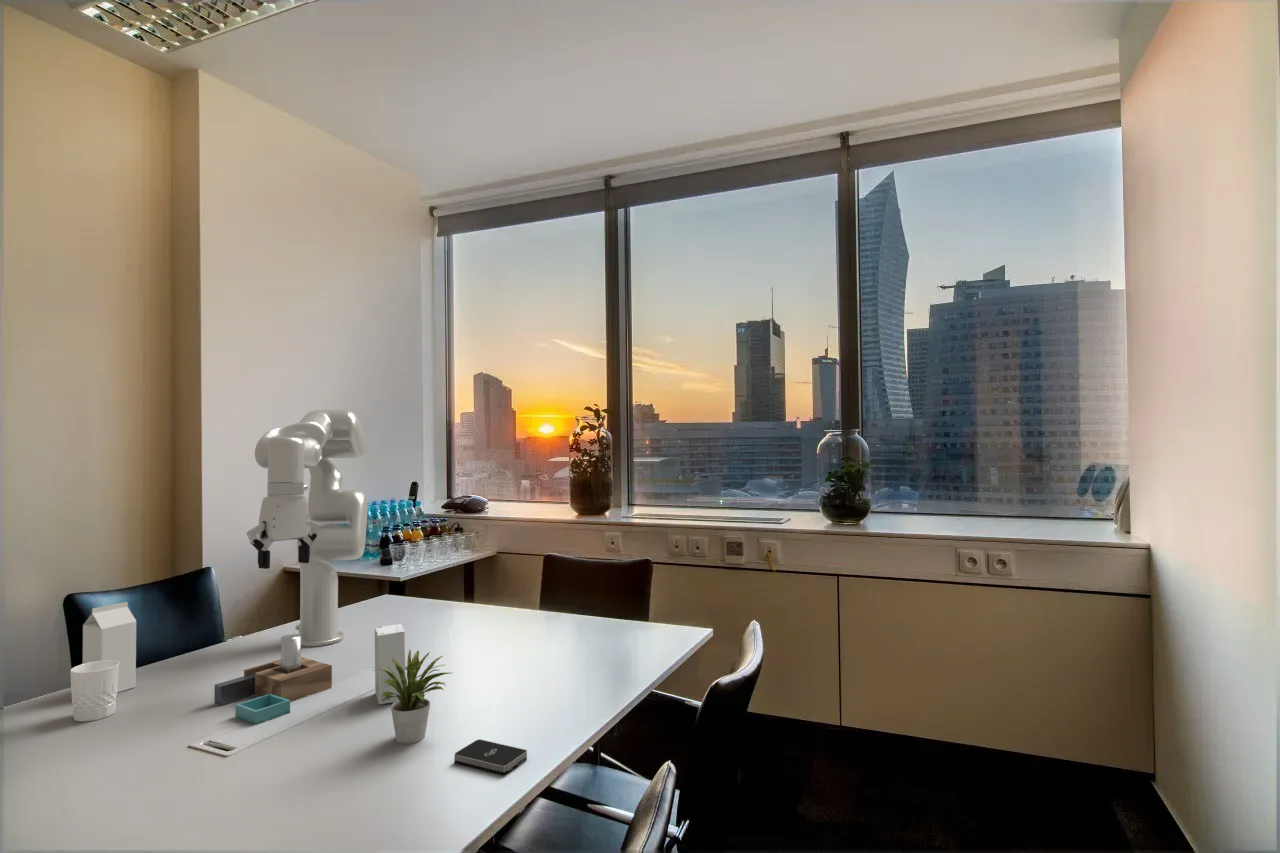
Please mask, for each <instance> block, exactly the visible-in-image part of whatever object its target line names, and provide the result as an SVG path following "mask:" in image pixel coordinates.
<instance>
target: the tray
mask: <svg viewBox="0 0 1280 853" xmlns="http://www.w3.org/2000/svg"><path fill="white" fill-rule="evenodd" d="M234 709H235V710H234V711H235V712H234V714H235V715H234V716H235V718H236V717H237V718H236V719H239V720H241V719H242V721H244V722H247V723H249V722H250V724H252V723H253V725H255V724H256V725H258V723H259V724H262V723H265V722H267V721H266V720H268V721H270V720H273V719H277V718H279V717H282V716H284V715H283V714H285V715H286V713H287V714H290V713H291V702H290V700H288V699H285V698H282V697H279V696H276V695H273V694H267V695H264V696H261V697H255V698H252V699H249V700H246V701H242V702H240V703H236V704H235V708H234ZM289 712H290V713H289ZM281 715H282V716H281ZM278 716H279V717H278ZM272 718H273V719H272ZM269 719H270V720H269ZM264 721H265V722H264ZM261 722H262V723H261Z"/></svg>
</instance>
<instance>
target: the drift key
mask: <svg viewBox="0 0 1280 853" xmlns="http://www.w3.org/2000/svg"><path fill="white" fill-rule="evenodd" d="M213 696H214V701H213V702H214V704H215V705H217V706H220V707H221V706H225V705H228V704H231V703H234V702H237V701H240V700H244V699H246V698H250V697H253V696H255V675H254V674H250V675H246V676H244V675H243V676H239V677H236V678H231V679H229V680H226V681H223V682H219V683H215V684H214V694H213ZM243 698H244V699H243Z"/></svg>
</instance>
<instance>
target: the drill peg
mask: <svg viewBox="0 0 1280 853" xmlns="http://www.w3.org/2000/svg"><path fill="white" fill-rule="evenodd" d="M280 641H281V642H280V659H281V673H285V674H288V673H292V672H295V671H298V670H301V657H302V646H301V635H299V633H298V634H295V633H294V634H287V635H284V636H281V637H280Z"/></svg>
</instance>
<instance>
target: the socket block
mask: <svg viewBox="0 0 1280 853" xmlns="http://www.w3.org/2000/svg"><path fill="white" fill-rule="evenodd" d="M250 674H254V675H255V695H254V697H256V696H257V697H256V698H258V697H261V696H264V695H267V694H273V695H276V696H279V697H282V698H285V699H288V700H290V701H291V702H294V701H297V700H299V698H300V699H302V697H303V698H305V696H306V697H308V696H307V695H309V696H312V695H315V694H317V693H320V692H322V690H323V691H326V690H329V689H331V687H332V688H333V685H332V684H333V681H332V680H333V665H332V664H328V663H324V662H321V661H317V660H314V659H310V658H307V657H302V656H301V670H298V671H295V672H292V673H288V674H285V673H281V658H280V659H278V660H274V661H271V662H270V661H269V662H267V663H262V664H259V665H256V666H253V667H249V668H248V667H247V668H245V669H244V670H243V676H246V675H250ZM328 688H329V689H328ZM325 689H326V690H325ZM319 691H320V692H319ZM316 692H317V693H316ZM296 699H297V700H296ZM293 700H294V701H293Z"/></svg>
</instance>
